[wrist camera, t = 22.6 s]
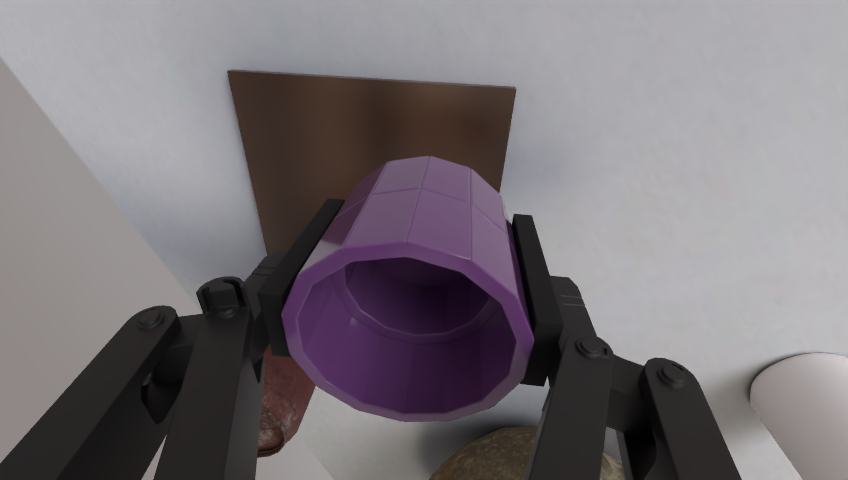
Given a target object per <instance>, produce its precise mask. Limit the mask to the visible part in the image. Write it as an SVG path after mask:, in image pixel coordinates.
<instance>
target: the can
mask: <svg viewBox="0 0 848 480" xmlns="http://www.w3.org/2000/svg"><path fill="white" fill-rule="evenodd" d="M264 358H265V363H266V364H265V375H264V386H263V397H262V408H261V419H260V431H259V442H258V453H257V458H259V457H267V456H271V455H273V454H275V453H278V452H279V451H280V450H281V449H282V448H283V446H284V445H285V443H287V442H288V441H289V440H290V439H291V438H292V437H293V436H294V435H295V433H296V432H297V431H298V428H299V426H300V423H301V421H302V418H303V416H304V414H305V411H306V409H307V406H308V404H309V401H310V399H311V396H312V394H313V391H314V389H315V386H316V385H315V384H314V382H313V381H312V380H311V379H310V378H309V376H308V375H307V374H306V373H305V372H304V371H303V369H302V368H301V367H300V366H299V365H298V363H297V362H296V361H295V360H294V359H293V358H290V357H282V356H273V355H272V351H271V347H270V344H269V346H268V347H267V349H266V351H265V352H264Z"/></svg>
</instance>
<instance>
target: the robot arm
mask: <svg viewBox="0 0 848 480" xmlns="http://www.w3.org/2000/svg"><path fill="white" fill-rule="evenodd" d="M344 203H345V200H343V199H331V198H328V199H327V200H326V201H325V203H324V204H323V205H322V207H321V208H320V209H319V211H318V212H317V213H316V215H315V216H314V217H313V219H312V220H311V221H310V223H309V224H308V225H307V227H306V228H305V229H304V231H303V232H302V233H301V235H300V236H299V237H298V239H297V240H296V241H295V243H294V244H293V245H292V247H291V248H290V249H289V251H288V252H285V251H275V252H273V253H271V254H270V255H268V256H266V257H265V258H264V259H263V260H262V261H261V263H260V264H259V265H258V267H257V268H256V269H255V270H254V271H253V272H252V275H250V276H249V277H248V278H247V279H246V281H245V282H243V281H242V280H241V279H240V278H237V277H233V276H231V277H220V278H216V279H213V280H211V281H209V282H206V283H205V284H204V285H202V286H201V287H200V288H199V289H198V291H197V292H196V294H197V297H198V300H199V303H200V305H201V308H202V311H203V314H197V315H189V316H182V317H178V315H177V313H176V310H175V309H173V308H172V307H170V306H155V307H151V308H148V309H145V310H142V311H140V312H139V313H137V314H135V315H134V316H132V317H131V318H130V319H129V320H128V321H127V322H126V323H125V324H124V325H123V326H122V328H121V329H120V330H119V331H118V332H117V333H116V334H115V335H114V337H113V338H112V339H111V340H110V341H109V342H108V343H107V344H106V345H105V347H104V348H103V349H102V350H101V351H100V352H99V353H98V354H97V356H96V357H95V358H94V359H93V360H92V361H91V362H90V364H89V365H88V366H87V367H86V368H85V369H84V370H83V371H82V372H81V374H80V375H79V376H78V377H77V378H76V379H75V380H74V381H73V383H72V384H71V385H70V386H69V387H68V388H67V389H66V390H65V391H64V393H63V394H62V395H61V396H60V397H59V398H58V399H57V401H56V402H55V403H54V404H53V405H52V406H51V407H50V408H49V410H48V411H47V412H46V413H45V414H44V415H43V416H42V417H41V418H40V420H39V421H38V422H37V423H36V424H35V425H34V426H33V427H32V428H31V430H30V431H29V432H28V433H27V434H26V435H25V436H24V437H23V439H22V440H21V441H20V442H19V443H18V444H17V445H16V446H15V448H14V449H13V450H12V451H11V452H10V453H9V454H8V455H7V457H6V458H5V459H4V460H3V461H2V462H1V463H0V480H141V479H142V477H143V475H144V474H145V472H146V470H147V468H148V467H149V465H150V463H151V461H152V459H153V458H154V456H155V454H156V452H157V451H158V449H159V447H160V445H161V444H162V442H163V440H164V438H165V436H166V435H167V437H166V440H165V443H164V447H163V450H162V453H161V456H160V460H159V463H158V466H157V470H156V473H155V476H154V479H153V480H255V475H256V463H257V453H258V442H259V431H260V419H261V408H262V397H263V386H264V375H265V364H266V363H265V358H264V352H265V351H266V349H267V347H268V346H269V344H270V347H271V351H272V355H273V356H282V357H290V358H293V357H292V356H291V355H290V353H289V350H288V345H287V341H286V336H285V332H284V327H283V322H282V318H281V311H282V309H283V307H284V304H285V302H286V300H287V298H288V295H289V293H290V291H291V288H292V286H293V284H294V282H295V279H296V277H297V275H298V273H299V272H300V270H301V269H302V267H303V266H304V264H305V263H306V261H307V260H308V258H309V256H310V255H311V253H312V252H313V250H314V249H315V247H316V246H317V244H318V243H319V241H320V239H321V238H322V236H323V235H324V233H325V232H326V230H327V229H328V227H329V226H330V224H331V222H332V221H333V220H334V218H335V216H336V215H337V213H338V212H339V210H340V209H341V207H342V206H343V204H344ZM512 228H513V233H514V238H515V244H516V249H517V254H518V259H519V264H520V269H521V274H522V279H523V284H524V289H525V294H526V299H527V304H528V309H529V314H530V319H531V324H532V330H533V335H534V344H533V348H532V352H531V355H530V359H529V362H528V366H527V369H526V373H525V377H524V379H523V380H522V382H520V384H526V385H534V386H543V387H544V384H545V381H546V378H547V375H548V380H549V385H550V389H549V392H548V395H547V398H546V401H545V403H544V406H543V409H542V411H543V412H542V416H541V419H540V423H539V426H538V430H537V433H536V437H535V441H534V444H533V448H532V451H531V455H530V458H529V462H528V465H527V469H526V473H525V476H524V480H600V474H601V465H602V456H603V448H604V439H605V431H606V426H607V427H610V428H612V429H615V430H616V434H617V439H618V444H619V450H620V455H621V460H622V465H623V470H624V475H625V480H742V479H741V477H740V475H739V473H738V470H737V468H736V466H735V464H734V461H733V459H732V457H731V455H730V452H729V450H728V448H727V446H726V443H725V441H724V439H723V437H722V434H721V432H720V430H719V428H718V425H717V423H716V421H715V419H714V416H713V414H712V412H711V410H710V407H709V405H708V403H707V401H706V398H705V396H704V394H703V391H702V389H701V387H700V385H699V383H698V381H697V380H696V378H695V377H694V375H693V374H692V373H691V372H690V371H688V370H687V369H686V368H685V367H683V366H682V365H680V364H678V363H676V362H674V361H671V360H668V359H665V358H653V359H650V360H648V361H647V363H646V364H645V366H642V365H639V364H637V363H634V362H631V361H628V360H625V359H623V358H620V357H618V356H616V355H614V354H613V351H612V349H611V348H610V346H609V345H608V344H607V343H606V342H605V341H603V340H602V339H601V338H599V337H597V335H596V333H595V330H594V328H593V325H592V322H591V320H590V317H589V315H588V312H587V309H586V307H585V304H584V302H583V299H582V297H581V294H580V291H579V289H578V287H577V286H576V285H575V284H574V283H573V282H572V280H571V279H570V278H568V277H557V276H550V275H549V272H548V269H547V265H546V262H545V258H544V255H543V252H542V248H541V245H540V242H539V238H538V235H537V231H536V228H535V225H534V221H533V218H532V215H521V214H514V216H513V222H512Z"/></svg>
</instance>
